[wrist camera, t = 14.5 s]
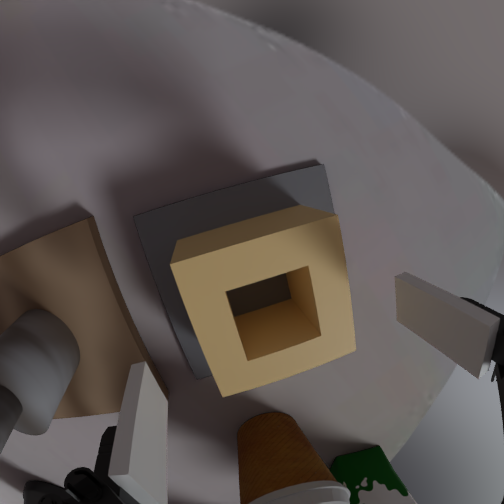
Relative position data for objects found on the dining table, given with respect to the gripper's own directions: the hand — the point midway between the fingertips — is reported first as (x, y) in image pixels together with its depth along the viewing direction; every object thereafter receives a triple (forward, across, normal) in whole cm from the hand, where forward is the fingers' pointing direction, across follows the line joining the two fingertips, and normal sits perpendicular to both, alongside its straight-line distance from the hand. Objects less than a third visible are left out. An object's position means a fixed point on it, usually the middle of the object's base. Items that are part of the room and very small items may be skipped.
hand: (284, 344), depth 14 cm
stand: (+9, -18, 0) cm, 20 cm away
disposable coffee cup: (+10, -2, -17) cm, 19 cm away
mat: (+9, 0, 0) cm, 9 cm away
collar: (+9, 0, 0) cm, 9 cm away
